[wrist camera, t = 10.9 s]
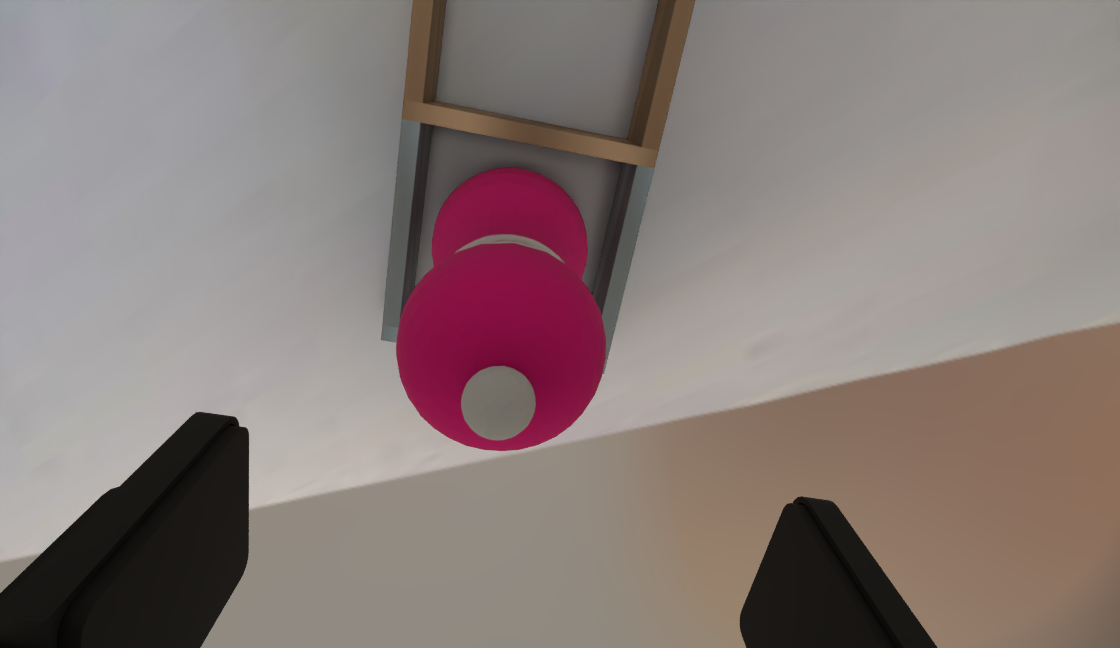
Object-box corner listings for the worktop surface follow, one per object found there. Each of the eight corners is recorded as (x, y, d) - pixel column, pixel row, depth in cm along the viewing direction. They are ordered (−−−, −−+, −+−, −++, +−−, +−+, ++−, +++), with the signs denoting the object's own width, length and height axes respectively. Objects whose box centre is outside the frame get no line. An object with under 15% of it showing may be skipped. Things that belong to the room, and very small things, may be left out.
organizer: (698, -98, 27) (726, -126, 23) (595, 343, 35) (604, 373, 31) (445, -163, 26) (432, -204, 22) (396, 311, 33) (381, 340, 30)
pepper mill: (437, 280, 33) (325, 532, 14) (452, 145, 30) (340, 240, 12) (566, 300, 34) (618, 561, 15) (591, 170, 31) (691, 297, 13)
